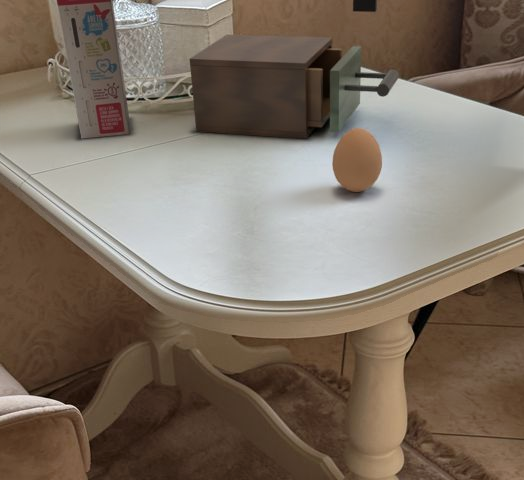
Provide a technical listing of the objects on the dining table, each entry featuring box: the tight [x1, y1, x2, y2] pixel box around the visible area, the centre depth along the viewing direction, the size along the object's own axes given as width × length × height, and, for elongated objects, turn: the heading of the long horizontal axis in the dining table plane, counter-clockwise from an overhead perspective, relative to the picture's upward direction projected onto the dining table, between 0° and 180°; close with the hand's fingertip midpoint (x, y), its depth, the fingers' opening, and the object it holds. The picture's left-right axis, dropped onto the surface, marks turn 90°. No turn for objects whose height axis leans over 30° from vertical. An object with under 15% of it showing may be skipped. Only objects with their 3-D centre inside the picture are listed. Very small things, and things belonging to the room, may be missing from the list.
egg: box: [332, 127, 383, 193], centre depth 87 cm, size 5×5×7 cm
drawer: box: [307, 45, 400, 133], centre depth 106 cm, size 20×12×8 cm, turn 71°
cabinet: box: [189, 34, 333, 140], centre depth 108 cm, size 16×14×10 cm
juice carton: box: [56, 0, 131, 139], centre depth 105 cm, size 7×7×22 cm
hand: (372, 2), depth 98 cm, fingers open, 9 cm apart
